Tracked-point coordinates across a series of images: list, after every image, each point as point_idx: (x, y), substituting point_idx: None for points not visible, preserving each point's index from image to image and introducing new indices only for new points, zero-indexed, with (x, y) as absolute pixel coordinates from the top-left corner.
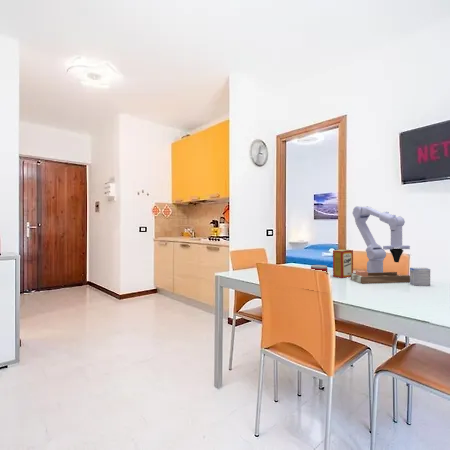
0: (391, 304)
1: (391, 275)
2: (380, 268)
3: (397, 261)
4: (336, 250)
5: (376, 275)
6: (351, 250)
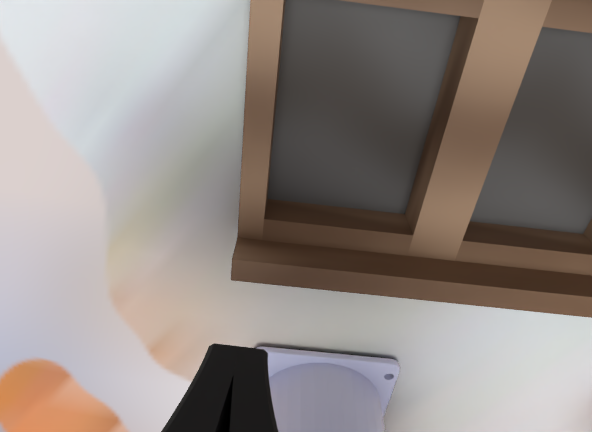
0: None
1: (340, 226)
2: (323, 430)
3: (244, 360)
4: None
5: (532, 269)
6: None
